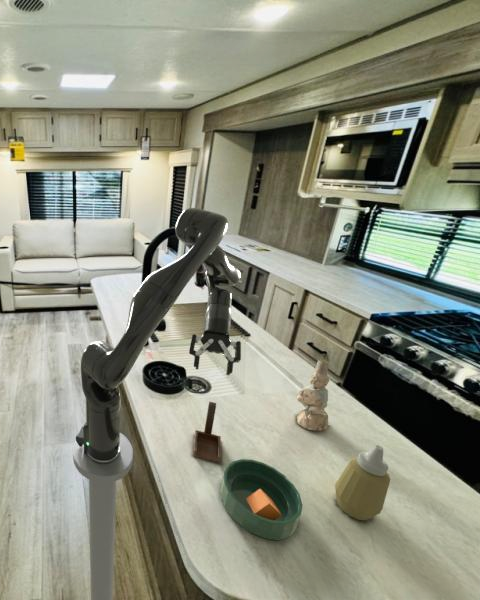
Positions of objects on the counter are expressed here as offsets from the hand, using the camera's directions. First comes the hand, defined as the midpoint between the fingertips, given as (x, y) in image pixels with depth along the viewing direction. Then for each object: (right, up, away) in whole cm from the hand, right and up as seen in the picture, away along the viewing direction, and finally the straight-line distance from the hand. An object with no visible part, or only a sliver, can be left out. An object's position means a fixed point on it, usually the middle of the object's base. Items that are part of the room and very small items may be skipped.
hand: (212, 371), depth 92 cm
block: (+1, -23, -23) cm, 33 cm away
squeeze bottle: (+22, -26, -22) cm, 41 cm away
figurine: (+31, -16, +2) cm, 35 cm away
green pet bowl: (+1, -26, -21) cm, 33 cm away
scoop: (-4, -20, -6) cm, 21 cm away
